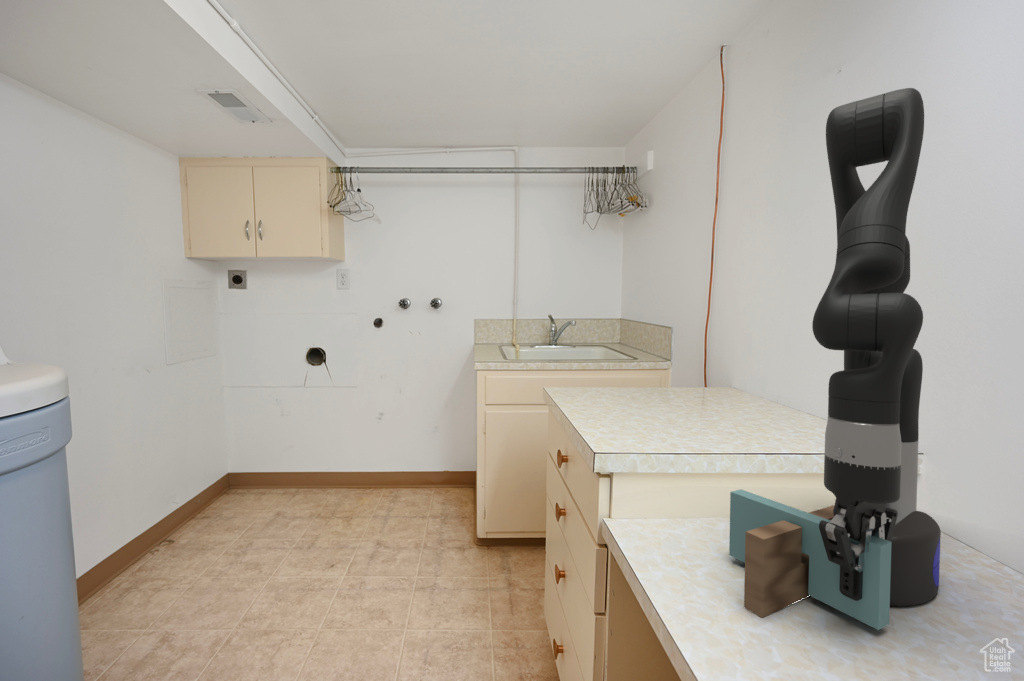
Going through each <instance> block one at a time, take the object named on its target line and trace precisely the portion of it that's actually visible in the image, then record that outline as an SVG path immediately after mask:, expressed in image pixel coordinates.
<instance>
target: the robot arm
mask: <svg viewBox="0 0 1024 681" xmlns="http://www.w3.org/2000/svg"><path fill="white" fill-rule="evenodd" d="M924 106H925V105H924V100H923V98H922V95H921V93H920V91H919V90H918V89H916V88H915V87H914V88H913V87H906V88H901V89H896V90H891V91H888V92H885V93H881V94H877V95H874V96H870V97H867V98H863V99H860V100H856V101H852V102H848V103H845V104H842V105H839V106H836V107H834V108H833V109H832V110H831V111H830V112H829V114H828V115H827V116H828V117H827V118H826V123H825V124H826V125H825V143H826V144H825V145H826V152H827V153H826V155H827V160H828V168H829V174H830V181H831V188H832V194H833V199H834V200H833V201H834V207H835V218H836V241H837V242H836V243H837V245H836V247H837V248H836V256H835V264H834V269H833V272H832V275H831V278H830V280H829V282H828V285H827V287H826V289H825V291H824V293H823V294H822V296H821V298H820V300H819V302H818V304H817V307H816V309H815V311H814V314H813V319H812V325H811V327H812V333H813V336H814V338H815V340H816V341H817V343H818V344H819V345H820V346H822V347H824V348H825V349H827V350H833V351H843V370H839V371H836V372H834V373H832V374H831V375H830V378H829V379H828V380H829V381H828V389H827V390H828V393H827V394H828V397H827V398H828V404H827V405H828V406H827V422H826V426H825V433H824V458H823V459H824V463H823V464H824V465H823V466H824V467H823V486H824V487H825V489H826V490H827V491H829V492H831V493H832V494H833V495H834V497H835V500H834V502H835V503H834V508H833V515H834V518H833V519H832V520H831V521H830V522H827V521H824V520H821V521H820V523H819V530H820V533H821V536H822V540H823V543H824V546H825V550H826V553H827V557H828V560H829V561H831V562H833V563H835V564H838V565H840V587H839V590H840V592H841V594H843V595H844V596H846V597H848V598H851V599H853V600H855V601H858V600H860V599H862V587H863V571H862V570H863V566H864V554H865V553H867V552H869V542H871V537H872V536H875V537H877V538H882V539H885V540H888V541H890V542H891V539H892V535H893V531H894V527H895V525H896V524H897V523H898V522H900V521H901V520H902V519H903V518H905V517H906V516H907V515H909V514H910V513H911V512H913V511H917V502H918V472H919V471H918V468H919V467H918V466H919V417H920V416H919V415H920V412H919V411H920V402H921V401H920V400H921V394H922V393H921V391H922V383H923V382H922V381H923V372H924V371H923V369H924V368H923V366H924V365H923V358H922V355H921V353H920V352H919V350H917V349H915V348H914V347H915V345H916V342H917V340H918V338H919V335H920V333H921V330H922V326H923V322H924V312H923V308H922V306H921V305H920V303H919V301H917V299H916V298H915V297H913V296H912V295H910V294H908V293H905V291H906V289H907V288H908V286H909V284H910V281H911V245H910V240H909V239H908V236H907V235H906V230H907V229H906V228H907V220H908V219H907V217H908V212H909V206H910V201H911V199H912V193H913V189H914V185H915V181H916V176H917V171H918V165H919V162H920V161H919V160H920V158H921V157H920V155H921V151H922V145H923V139H924V132H925V108H924ZM884 162H887V163H886V165H885V167H884V169H883V170H882V171H881V172H880V174H879V176H878V177H877V178H876V179H875V180H874V181H873V182H872V184H871V185H870V186H869V187H868V189H865V187H864V185H863V184H862V181H861V180H860V176H859V174H858V171H857V168H859V167H864V166H869V165H873V164H874V165H875V164H879V163H884ZM849 538H851V539H853V540H856V541H859V542H860V544H859V543H856V542H853V541H851V540H849ZM852 550H854V551H855V559H854V556H853V552H852Z"/></svg>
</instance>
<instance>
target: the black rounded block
mask: <svg viewBox="0 0 1024 681" xmlns="http://www.w3.org/2000/svg"><path fill="white" fill-rule="evenodd" d="M941 532H942V531H941V527H940V526H939V524H938V521H937V520H935V519H934V518H933V517H932V516H931V515H929V514H927V513H926V512H925V511H920V510H916V511H913V512H911V513H910V514H909V515H907V516H906V517H905V518H903V519H902V520H901V521H900V522H898V523H897V524H896V525H895V527H894V531H893V535H892V539H891V577H890V606H891V607H910V606H916V605H920V604H924V603H926V602H928V601H930V600H932V599H933V598H934V597H935V596H936V595H937V593H938V592H939V588H940V568H941V567H940V564H941V539H942V538H941V534H942V533H941Z"/></svg>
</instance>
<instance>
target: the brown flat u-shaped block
mask: <svg viewBox="0 0 1024 681" xmlns="http://www.w3.org/2000/svg"><path fill="white" fill-rule="evenodd" d="M834 505H835V504H834ZM834 505H830V506H829V505H828V506H826V507H823V508H819V509H816V510H813V511H809V512H808V513H810V514H813V515H816V516H819V517H822V518H825V519H827V520H830V521H831V520H832V519H833V518H834V515H833V508H834ZM801 551H802V527H800V526H798V525H795V524H792V523H790V522H787V521H785V520H782V521H779V522H776V523H772V524H769V525H766V526H762V527H759V528H756V529H752V530H749V531H746V536H745V563H744V588H743V589H744V590H743V592H744V593H743V594H744V595H743V608H744V607H745V609H747V610H748V611H750V612H751V613H753V614H754V615H756V616H758V617H760V618H762V619H763V618H765V617H768V616H770V615H772V614H774V612H775V613H777V612H779V611H781V610H783V608H784V607H786V606H788V605H790V604H792V603H794V602H796V601H798V600H801V599H802V598H805V597H807V596H809V595H808V586H809V555H807V554H804V553H802V552H801ZM790 606H791V605H790ZM788 607H789V606H788ZM786 608H787V607H786ZM784 609H785V608H784Z"/></svg>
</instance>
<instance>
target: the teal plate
mask: <svg viewBox="0 0 1024 681" xmlns="http://www.w3.org/2000/svg"><path fill="white" fill-rule="evenodd" d="M729 495H730V498H729V499H730V501H729V503H730V504H729V506H730V507H729V546H728V547H729V549H728V551H729V553H728V555H729V556H730V557H732V558H734V559H736V560H738V561H740V562H742V563H744V564H745V536H746V531H749V530H752V529H756V528H759V527H762V526H766V525H769V524H772V523H776V522H779V521H782V520H785V521H787V522H790V523H792V524H795V525H798V526H800V527H802V551H801V552H802V553H804V554H807V555H809V586H808V595H810V596H811V597H812V598H813V599H815V600H817V601H820V602H822V603H824V604H826V605H828V606H829V607H831V608H833V609H836V610H838V611H839V612H842V613H844V614H846V615H847V616H850V617H852V618H853V619H856V620H858V621H859V622H862V623H863V624H866V625H867V626H869V627H871V628H874V629H876V630H877V631H879V630H881V629H883V628H885V627H886V626H888V625H889V624H890V610H891V609H890V608H891V607H890V606H891V605H890V577H891V542H890V541H888V540H885V539H882V538H877V537H875V536H872V537H871V542H869V552H867V553H865V554H864V566H863V570H862V571H863V587H862V599H860V600H858V601H855V600H853V599H851V598H848V597H846V596H844V595H843V594H841V592H840V590H839V587H840V565H838V564H835V563H833V562H831V561H829V560H828V557H827V553H826V550H825V546H824V543H823V540H822V536H821V533H820V530H819V523H820V521H821V520H824V521H827V522H830V520H827V519H825V518H822V517H819V516H816V515H813V514H810V513H809V512H807V511H804V510H802V509H799V508H795V507H794V506H793V507H792V506H790V505H787V504H784V503H782V502H779V501H776V500H773V499H770V498H767V497H765V496H761V495H759V494H756V493H752V492H750V491H747V490H744V489H736V490H733V491H730V494H729ZM849 540H851V541H853V542H856V543H859V544H860V542H859V541H856V540H853V539H851V538H849ZM852 552H853V556H854V559H855V551H854V550H852ZM811 597H810V598H811Z"/></svg>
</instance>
